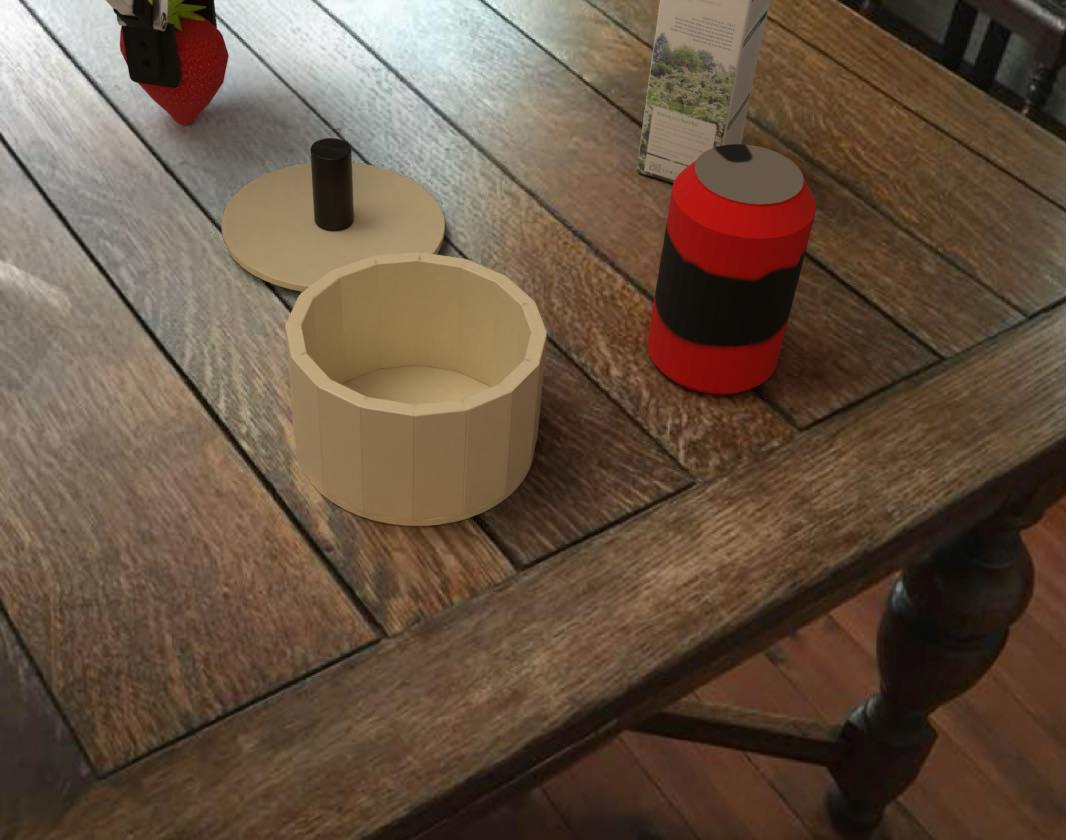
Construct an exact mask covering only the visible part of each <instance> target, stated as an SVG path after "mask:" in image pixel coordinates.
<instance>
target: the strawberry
mask: <svg viewBox="0 0 1066 840" xmlns="http://www.w3.org/2000/svg"><path fill="white" fill-rule="evenodd" d="M148 1H149V2H150V3H151V4H152V0H148ZM183 1H184V0H168V21H167V23H168V24H174V27H175V34H176V42H177V50H178V58H179V65H180V73H181V83H180V84H179V85H178V87H176V88H170V87H163V86H156V85H150V84H143V83H137V84H138V85H139V86H140V87H141V89H143V90H144V92H145V93H146V94H147V95H148V96H149V97H150V98H151V100H152V101H154V103H156V104H157V105H158V106H160V108H162V109H163V110H164V111H165V112H166V113H167V114H168V115H169V116H170V117H171V119H173V120H174V121H175V122H176V123H178V124H179V125H183V126H188V125H192V124H193V123H194V122H195V121H196V120H197V118H198V116H200V114H201V113H202V112H203V111H204V110H205V109H206V108H207V107H208V106H209V105H210V103H211V102H212V101H213V99H214V98H215V96H216V94H217V93H218V92H219V90H220V88H221V87H222V85H224V82H225V77H226V71H227V66H228V61H229V51H228V48H227V44H226V41H225V39H224V35H223V34H222V32H221V31H220V30H219V29H218V27H217V28H216V27H215V26H214V25H213V24H212V23H211V22H210V21H208V20H207V19H206V18H204V17H203V16H201V15H199V14H197V13H194V11H197V10H201V9H204V8H206V6H197V5H188V4H181V3H182V2H183ZM119 32H120V34H119V50H120V53H121V55H122V58H123V60H124V62H125V64H126V66H127V67H128V64H127V58H126V52H125V45H124V39H123V33H122V27H120V31H119Z"/></svg>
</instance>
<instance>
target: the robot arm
mask: <svg viewBox="0 0 1066 840" xmlns="http://www.w3.org/2000/svg"><path fill="white" fill-rule="evenodd" d="M105 1H106V2H107V3H108V4H109V6H110V7H111V8H112V10H113V13H114V14H115V15H116V21H117V24H118V25H119V26H121V27H122V33H123V39H124V45H125V52H126V58H127V64H128V66H127V69H128V77H129V78H130V80H131V81H132V82H134V83H136V84H138V83H143V84H150V85H156V86H163V87H170V88H176V87H178V85H179V84H180V83H181V73H180V65H179V58H178V50H177V42H176V34H175V27H174V24H168V23H167V21H168V0H152V4H151V3H150V2H149V1H148V0H105ZM181 4H188V5H197V6H206V8H204V9H201V10H197V11H194V13H197V14H199V15H201V16H203V17H204V18H206V19H207V20H208V21H210V22H211V23H212V24H213V25H214V26H215V27H216V28H217V29H218V25H217V16H216V14H217V13H216V6H215V0H184V1H183V2H182V3H181ZM121 27H120V28H121ZM127 64H126V65H127Z"/></svg>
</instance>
